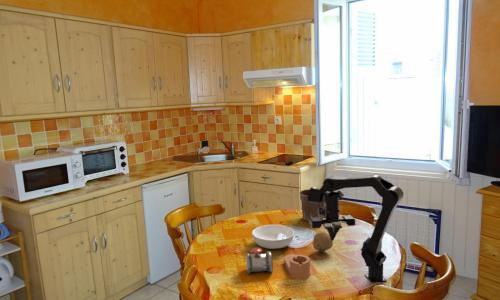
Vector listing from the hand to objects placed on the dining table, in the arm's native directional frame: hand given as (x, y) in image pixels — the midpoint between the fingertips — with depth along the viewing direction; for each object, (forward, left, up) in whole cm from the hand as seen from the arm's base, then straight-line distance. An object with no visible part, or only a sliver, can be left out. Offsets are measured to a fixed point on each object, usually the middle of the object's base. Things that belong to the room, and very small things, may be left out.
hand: (332, 240), depth 158 cm
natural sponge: (+14, 0, -12) cm, 18 cm away
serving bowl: (+26, +22, -12) cm, 36 cm away
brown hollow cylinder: (0, +16, -12) cm, 20 cm away
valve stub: (0, +32, -12) cm, 34 cm away
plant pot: (+59, -7, -12) cm, 61 cm away
